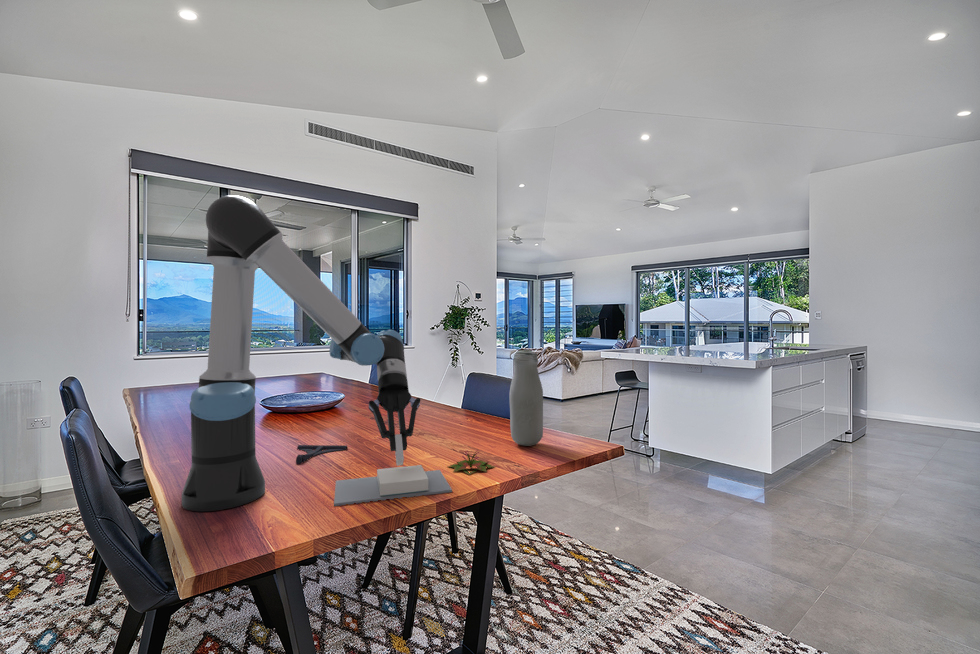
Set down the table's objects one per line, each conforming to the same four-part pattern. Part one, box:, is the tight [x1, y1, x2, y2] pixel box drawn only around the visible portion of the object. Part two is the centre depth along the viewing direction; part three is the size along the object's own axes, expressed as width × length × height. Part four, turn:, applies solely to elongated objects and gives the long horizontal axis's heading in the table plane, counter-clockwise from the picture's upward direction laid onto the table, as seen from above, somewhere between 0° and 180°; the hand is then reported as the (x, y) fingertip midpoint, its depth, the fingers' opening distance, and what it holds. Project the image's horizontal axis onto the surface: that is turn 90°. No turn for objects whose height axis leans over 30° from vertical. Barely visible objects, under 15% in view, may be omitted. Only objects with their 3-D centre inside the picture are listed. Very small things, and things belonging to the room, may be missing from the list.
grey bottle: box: [508, 349, 544, 447], centre depth 136 cm, size 10×10×28 cm
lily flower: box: [446, 449, 496, 476], centre depth 115 cm, size 12×12×5 cm
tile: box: [376, 464, 428, 496], centre depth 101 cm, size 10×3×10 cm
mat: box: [333, 469, 453, 507], centre depth 102 cm, size 24×14×1 cm, turn 107°
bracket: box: [295, 444, 349, 465], centre depth 127 cm, size 14×15×3 cm
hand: (400, 462), depth 104 cm, fingers closed
